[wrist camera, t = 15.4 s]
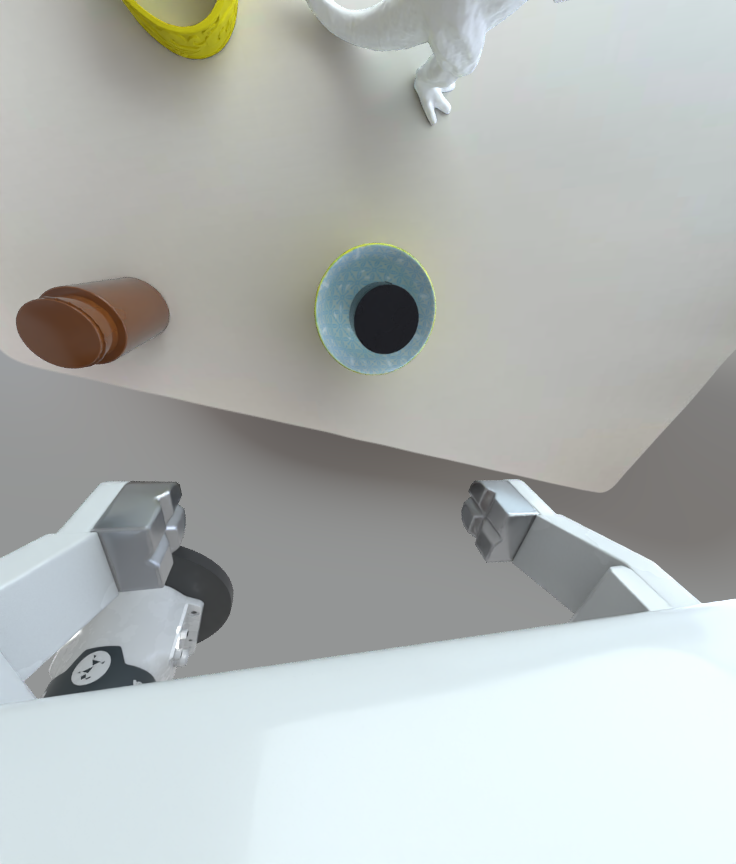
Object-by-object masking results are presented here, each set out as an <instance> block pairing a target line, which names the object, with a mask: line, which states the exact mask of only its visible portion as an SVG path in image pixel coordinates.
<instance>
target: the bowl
mask: <svg viewBox="0 0 736 864" xmlns="http://www.w3.org/2000/svg"><path fill="white" fill-rule="evenodd" d="M385 281H387V282H390V283H392V284H394V285H397V286H400V287H402V288H404V289H405V290H407V291H408V292H409V293H410V294H411V295H412V297H413V298H414V300H415V302H416V304H417V307H418V312H419V322H418V327H417V330H416V333H415V335H414V336H413V338H412V340H411V341H410V342H409V343H408V344H407V345H406V346H405V347H404V348H402V349H401V350H399V351H397V352H394V353H391V354H377V353H374V352H372V351H370V350H368V349H367V348H365V347H364V346H363V345H362V344H361V342H360V341H359V340H358V338H357V337H356V335H355V334H354V332H353V330H352V328H351V325H350V321H349V311H350V306H351V303H352V301H353V299H354V297H355V295H356V294H357V293H358V292H359V291H360V290H361V289H362V288H363V287H365V286H366V285H368V284H371V283H374V282H385ZM314 314H315V322H316V328H317V331H318V334H319V337H320V340H321V341H322V343H323V345H324V347H325V348H326V350H327V351H328V353H329V354H330V355H331V356H332V357H333V358H334V359H335V360H336V361H337V362H338V363H339V364H341V365H342V366H344V367H345V368H347V369H349V370H351V371H353V372H356V373H360V374H365V375H382V374H386V373H390V372H393V371H396V370H398V369H400V368H401V367H403V366H405V365H406V364H408V363H409V362H410V361H411V360H413V359H414V358H415V357H416V356H417V355H418V354H419V352H420V351H421V350H422V348H423V347H424V345H425V344H426V342H427V340H428V338H429V336H430V334H431V331H432V328H433V325H434V321H435V314H436V300H435V293H434V289H433V286H432V283H431V280H430V278H429V276H428V274H427V272H426V271H425V269H424V268H423V266H422V265H421V264H420V263H419V262H418V261H417V260H416V259H415V258H414V257H413V256H412V255H410V254H409V253H408V252H406V251H405V250H403V249H400V248H398V247H395V246H393V245H389V244H384V243H369V244H363V245H359V246H356V247H354V248H352V249H350V250H348V251H346V252H344V253H343V254H342V255H340V256H339V257H338V258H337V259H336V260H335V261H334V262H333V263H332V264H331V265H330V266H329V268H328V269H327V271H326V272H325V274H324V276H323V277H322V279H321V282H320V284H319V287H318V290H317V294H316V299H315V307H314Z"/></svg>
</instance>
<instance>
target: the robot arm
mask: <svg viewBox="0 0 736 864" xmlns="http://www.w3.org/2000/svg"><path fill="white" fill-rule="evenodd" d="M469 493H470V496H471V497H470V498H468V500H466V501H465V502H464V505H463V508H462V521H463V525H464V527H465V529H466V530H467V532H468V533H469V534H471V535H472V536H474V537H475V538H476V541H475V545H476V547H477V548H478V550H479V551H480V553H481V554H482V556H483V558H484V559H485V561H486V562H507V561H512V563H513V564H514V565H515V566H516V567H518V568H519V569H520V570H521V571H523V572H524V573H525V574H526V575H528V576H529V577H530V578H531V579H532V580H534V581H535V582H536V583H537V584H539V585H540V586H541V587H542V588H543V589H545V590H546V591H547V592H548V593H550V594H551V595H552V596H553V597H555V598H556V599H557V600H558V601H560V602H561V603H562V604H563V605H564V606H566V607H567V608H568V609H569V610H570V611H572V612H573V613H574V615H573V617H572V618H571V619H570V621H569V622H568V623H564V624H558V625H550V626H544V627H536V628H529V629H523V630H516V631H509V632H501V633H495V634H487V635H481V636H473V637H466V638H459V639H452V640H446V641H439V642H431V643H425V644H417V645H410V646H404V647H397V648H390V649H383V650H376V651H369V652H362V653H355V654H348V655H341V656H335V657H327V658H320V659H313V660H306V661H300V662H292V663H285V664H278V665H272V666H264V667H258V668H250V669H244V670H236V671H229V672H222V673H215V674H208V675H201V676H194V677H187V678H180V679H173V677H174V674H175V671H176V667H178V666H179V667H182V666H186V664H187V660H188V656H190V655H192V654H193V653H194V651H195V648H196V645H197V639H198V634H199V629H200V623H201V618H202V612H203V607H204V603H203V602H202V601H201V600H198V599H195V598H191V597H187V596H185V595H183V594H181V593H180V592H178V591H177V590H175V589H173V588H171V587H168V586H165V582H166V580H167V577H168V575H169V573H170V570H171V568H172V565H173V558H172V553H173V552H174V551H175V550H177V549H178V548H179V547H180V544H181V542H182V539H183V536H184V531H185V525H186V524H185V523H186V519H185V518H186V517H185V510H184V508H183V507H181V506H180V505H179V504H178V503H179V501H180V498H181V496H182V493H181V488H180V484H178V483H177V482H140V481H136V482H135V481H130V482H127V481H124V482H123V481H121V482H120V481H106V482H103V483H101V484H99V485H98V486H97V487H96V488H95V490H94V491H93V492H92V493H91V494H90V495H89V497H88V498H87V499H86V500H85V501H84V502H83V503H82V505H81V506H80V507H79V508H78V509H77V510H76V512H75V513H74V514H73V515H72V516H71V517H70V518H69V520H68V521H67V522H66V523H65V524H64V526H63V527H62V528H61V529H60V530H59V531H58V532H57V533H56V534H46V535H45V536H43V537H41V538H39V539H37V540H35V541H33V542H31V543H29V544H27V545H25V546H23V547H21V548H19V549H17V550H15V551H13V552H12V553H10V554H8V555H6V556H4V557H2V558H0V864H736V599H732V600H725V601H718V602H712V603H704V604H702V603H701V602H699V601H698V600H697V599H696V598H695V597H694V596H693V595H691V594H690V593H689V592H688V591H687V590H686V589H684V588H683V587H682V586H681V585H680V584H678V583H677V582H676V581H675V580H674V579H673V578H672V577H671V576H669V575H668V574H667V573H666V572H665V571H663V570H662V569H661V568H660V567H659V566H657V564H655V563H654V562H653V561H651V560H649V559H647V558H645V557H643V556H641V555H639V554H637V553H635V552H633V551H631V550H629V549H627V548H625V547H624V546H622V545H619V544H618V543H616V542H614V541H612V540H610V539H608V538H606V537H604V536H602V535H600V534H598V533H596V532H594V531H592V530H590V529H588V528H586V527H584V526H582V525H580V524H579V523H577V522H575V521H573V520H571V519H569V518H567V517H565V516H563V515H557V514H555V513H554V512H553V511H552V510H551V509H550V508H549V507H548V506H547V505H546V504H545V503H544V502H543V501H542V500H541V499H540V498H539V497H538V496H537V495H536V494H535V493H534V492H533V491H532V490H531V489H530V488H529V487H528V486H527V485H526V484H525V483H524V482H523V481H521V480H518V479H513V480H489V481H488V480H486V481H474V482H473V483H472V484H471V486H470V489H469ZM57 651H58V652H57ZM56 652H57V654H56V656H55V658H54V660H53V662H52V664H51V666H50V668H49V674H50V676H51V678H52V679H53V680H52V681H51V682H50V684H49V685H48V687H47V689H46V691H45V693H44V694H43V695H42V696H41V698H40V699H37V698H36V697H35V696H34V694H33V693H32V692H31V690H30V689H29V688H28V687H27V685H26V684H25V683H24V681H25V680H26V679H27V678H28V677H29V676H30V675H31V674H32V673H34V672H35V671H36V670H37V669H38V668H39V667H40V666H41V665H42V664H44V663H45V662H46V661H47V660H48V659H49V658H50V657H51V656H52V655H53V654H55V653H56ZM172 679H173V680H172Z"/></svg>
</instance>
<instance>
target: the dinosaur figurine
mask: <svg viewBox="0 0 736 864" xmlns="http://www.w3.org/2000/svg"><path fill="white" fill-rule="evenodd" d="M526 1H528V0H383V1H382V2H380V3H378V4H376V5H375V6H371V7H369V8H366V9H363V10H348V9H345V8H344V7H342V6H340V5H338V4H337V3H336V2H334V1H333V0H306V2H307V4H308V6H309V7H310V9H311V11H312V12H313V13H314V14H315V16H316V17H317V18H318V19H319V21H320V22H321V23H322V24H323V25H324V26H325V27H326V28H327V29H328V30H329V31H330V32H331V33H333V34H334V35H336V36H337V37H339V38H340V39H342V40H344V41H346V42H348V43H351V44H353V45H355V46H359V47H362V48H367V49H370V50H374V51H382V52H383V51H391V50H401V49H409V48H411V47H415V46H417V45H420V44H423V43H426V42H428V43H429V45H430V47H431V49H432V51H433V54H432V55H431V56H430V57H429V58H428V60H427V61H426V62H425V64H424V65H423V66H421V67H419V68H418V69H417V71H416V78H415V82H414V88H415V90H416V92H417V94H418V95H419V98H420V101H421V104H422V106H423V109H424V112H425V114H426V116H427V118H428V120H429V122H430V123H431V124H432V125H434V124H435V123H436V120H437V119H436V115H435V112H434V108H437V109H439V110H441V111H442V112H444V113H446V114H449V112H450V110H451V106H450V104H449V102H448V101H447V100H446V99H445V98H444V96H443V95H442V93H441V92H448V91H451V90H453V89H454V88H455V81H456V79H457V78H459V77H462V76H466V75H468V74H470V73H472V72H473V70H474V69H475V68H476V66H477V64H478V62H479V59H480V55H481V52H482V49H483V45H484V40H485V33H486V32H487V31H488V30H490V29H491V28H493V27H494V26H497V25H498V24H499V23H500V22H501V21H503V20H505V19H506V18H507V17H508V16H510V15H511V14H512V13H514V12H515V11H516V10H517V9H519V7H520V6H521V5H522V4H524V3H525V2H526ZM553 1H554V3H558V2H564V1H567V0H553Z"/></svg>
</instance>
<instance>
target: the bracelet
mask: <svg viewBox="0 0 736 864" xmlns="http://www.w3.org/2000/svg"><path fill="white" fill-rule="evenodd" d="M122 1H123V3H124V4H125V5H126V7H127V8H128V10H129V11H130V12H131V13H132V15H133V16H134V17H135V19H136V20H137V21H138V23H139V24H140V25H141V26H142V27H143V28H144V29H145V30H146V31H147V32H148V33H149V34H150V35H151V36H152V37H153V38H154V39H156V40H157V41H158V42H159V43H160V44H162V45H163V46H164V47H166V48H167V49H169V50H170V51H172V52H173V53H175V54H178V55H180V56H183V57H185V58H191V59H203V58H207V57H210V56H212V55H215V54H216V53H218V52H219V51H220V50H221V49H222V48H223V47H224V46H225V45H226V44H227V42H228V40H229V39H230V36H231V34H232V31H233V29H234V25H235V21H236V16H237V6H238V0H217V2H216V4H215V6H214V8H213V10H212V11H211V13H210V14H209V15H208V17H207V18H205V19H204V20H203V21H201V22H200V23H198V24H196V25H194V26H188V27H179V26H174V25H170V24H168V23H165V22H163V21H161V20H159V19H157V18H156V17H154V16H153V15H151V14H150V13H148V12H147V11H146V10H144V9H143V8H142V7H141V6H140V5H139V4H137V3H136V2H135V1H134V0H122Z"/></svg>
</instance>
